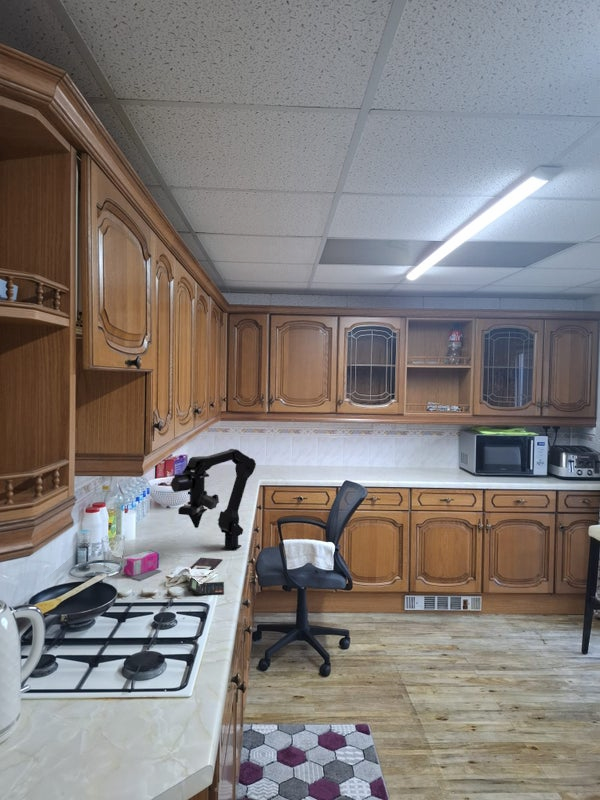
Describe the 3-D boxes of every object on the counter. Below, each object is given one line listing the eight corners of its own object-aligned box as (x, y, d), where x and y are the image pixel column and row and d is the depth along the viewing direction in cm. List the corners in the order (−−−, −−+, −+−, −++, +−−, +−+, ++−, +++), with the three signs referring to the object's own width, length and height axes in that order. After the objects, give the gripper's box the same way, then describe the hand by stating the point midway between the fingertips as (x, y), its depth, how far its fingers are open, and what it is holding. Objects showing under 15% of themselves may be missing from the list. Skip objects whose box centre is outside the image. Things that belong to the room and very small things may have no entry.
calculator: (223, 595, 159) (223, 586, 159) (187, 597, 158) (187, 588, 158) (223, 584, 169) (223, 575, 169) (189, 585, 167) (189, 577, 167)
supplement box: (149, 565, 184) (122, 572, 175) (150, 549, 184) (122, 556, 175) (158, 569, 180) (131, 577, 172) (159, 553, 180) (131, 560, 172)
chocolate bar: (222, 559, 192) (206, 575, 174) (222, 561, 192) (206, 578, 174) (200, 557, 193) (182, 574, 175) (200, 560, 193) (182, 576, 175)
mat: (142, 567, 182) (142, 566, 182) (160, 571, 178) (160, 570, 178) (121, 576, 174) (121, 574, 174) (140, 580, 169) (140, 579, 169)
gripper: (203, 494, 183) (203, 536, 183) (225, 486, 201) (225, 523, 201) (177, 492, 186) (177, 533, 186) (201, 484, 204) (201, 521, 204)
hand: (196, 527), depth 194 cm, fingers closed
